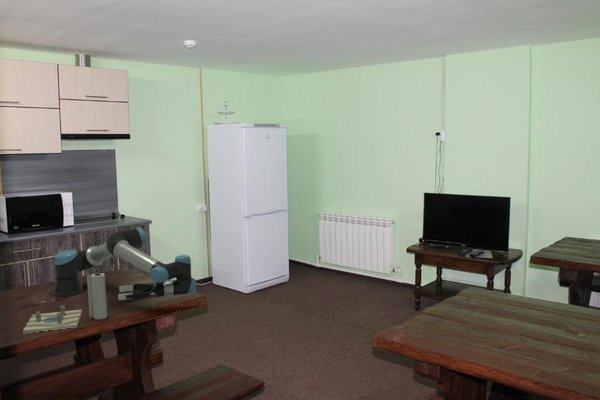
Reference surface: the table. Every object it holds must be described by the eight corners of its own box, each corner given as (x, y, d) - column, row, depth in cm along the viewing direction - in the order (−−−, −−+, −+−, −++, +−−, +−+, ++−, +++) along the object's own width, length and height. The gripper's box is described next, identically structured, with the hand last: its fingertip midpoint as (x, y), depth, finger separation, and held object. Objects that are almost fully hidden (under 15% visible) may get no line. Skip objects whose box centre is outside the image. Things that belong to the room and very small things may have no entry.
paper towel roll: (110, 316, 245) (107, 273, 242) (99, 320, 239) (96, 276, 237) (100, 314, 248) (97, 271, 246) (89, 318, 243) (86, 274, 241)
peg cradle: (33, 317, 245) (32, 305, 244) (82, 312, 252) (81, 300, 251) (23, 333, 224) (21, 320, 224) (76, 327, 231) (76, 315, 230)
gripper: (165, 303, 240) (118, 308, 234) (163, 289, 264) (120, 293, 257) (165, 288, 239) (117, 292, 233) (162, 275, 263) (119, 278, 256)
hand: (118, 293), depth 245 cm, fingers open, 13 cm apart
